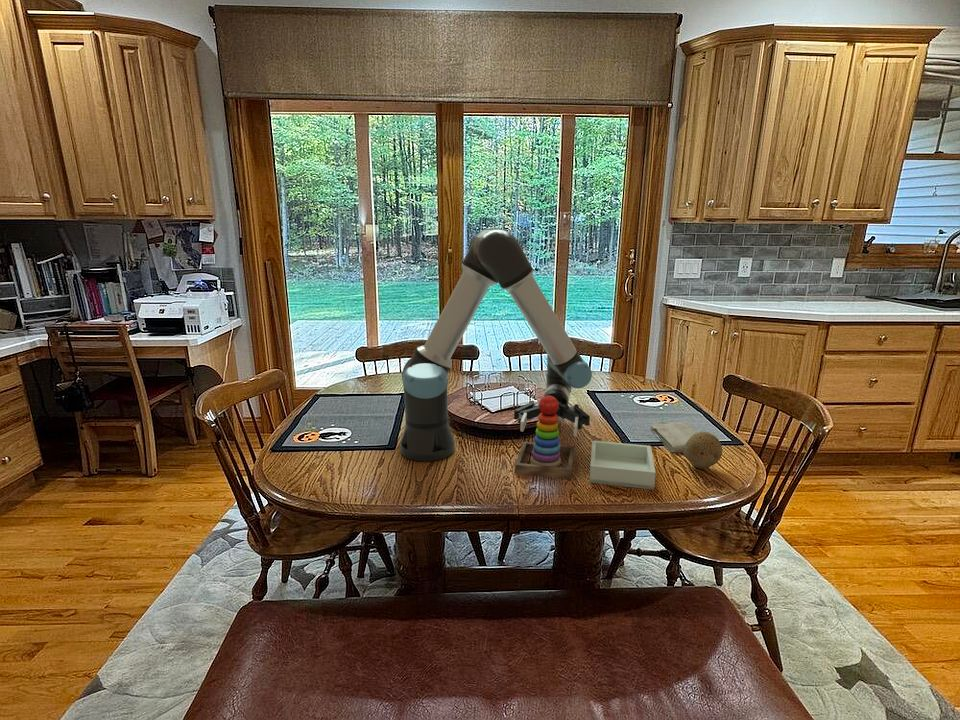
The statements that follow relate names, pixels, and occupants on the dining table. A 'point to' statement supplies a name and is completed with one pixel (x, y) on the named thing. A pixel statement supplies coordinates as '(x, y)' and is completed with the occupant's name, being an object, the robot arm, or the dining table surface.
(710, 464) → the natural sponge
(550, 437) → the stacking toy
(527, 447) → the walnut holder
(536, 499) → the dining table surface
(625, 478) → the sage tray
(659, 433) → the washcloth
